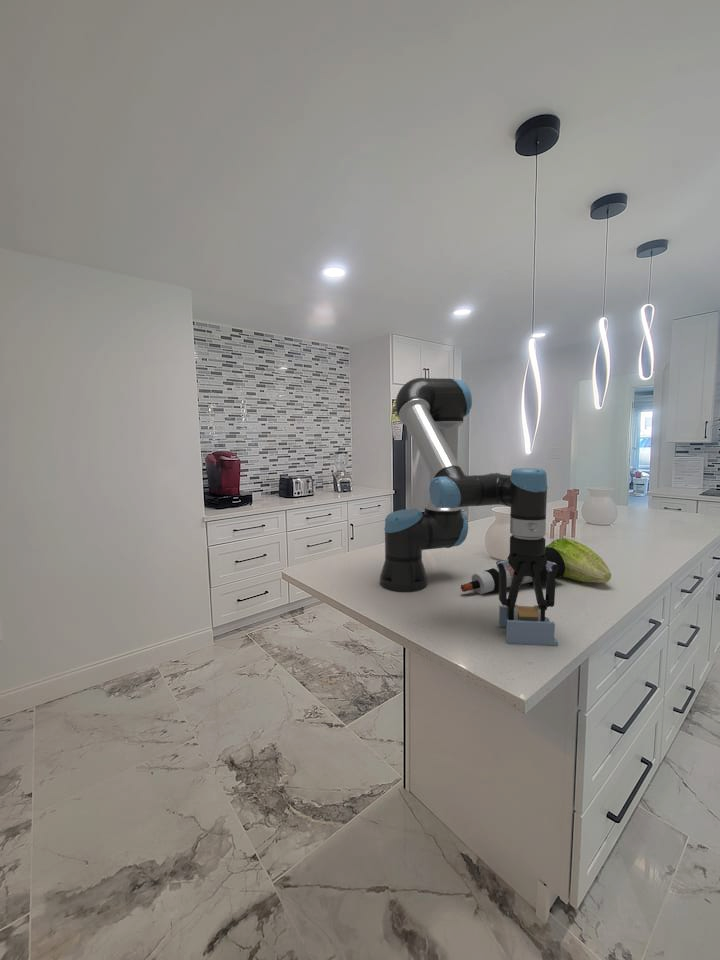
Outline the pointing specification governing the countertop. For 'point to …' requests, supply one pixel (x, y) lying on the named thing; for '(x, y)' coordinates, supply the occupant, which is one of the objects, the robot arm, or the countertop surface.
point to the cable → (511, 575)
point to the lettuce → (581, 561)
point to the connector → (527, 613)
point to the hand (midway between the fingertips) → (525, 633)
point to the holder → (527, 630)
